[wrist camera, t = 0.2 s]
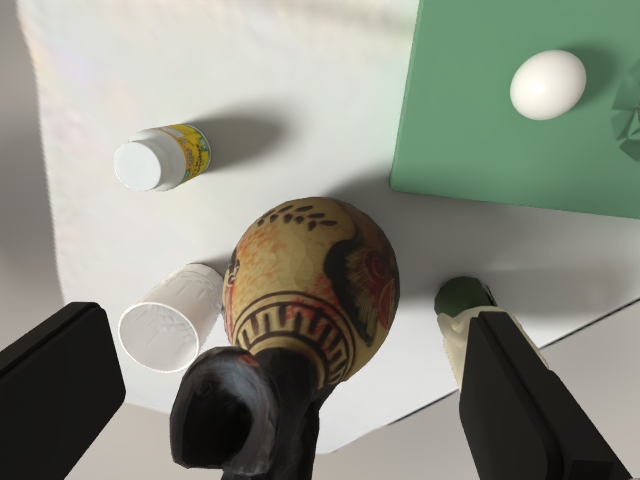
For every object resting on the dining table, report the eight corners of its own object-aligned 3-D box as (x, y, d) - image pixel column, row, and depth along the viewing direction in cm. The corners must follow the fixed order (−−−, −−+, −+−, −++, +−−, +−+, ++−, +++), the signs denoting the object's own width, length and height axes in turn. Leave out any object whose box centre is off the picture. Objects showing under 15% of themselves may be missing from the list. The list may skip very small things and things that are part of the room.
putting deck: (389, 183, 38) (391, 190, 35) (428, -55, 31) (435, -71, 28) (697, 219, 37) (725, 229, 34) (814, -24, 29) (862, -37, 27)
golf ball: (510, 50, 30) (537, 42, 26) (573, 56, 30) (613, 49, 26) (493, 115, 32) (517, 118, 28) (553, 121, 32) (587, 125, 27)
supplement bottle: (167, 115, 38) (109, 121, 29) (218, 134, 38) (175, 145, 29) (158, 166, 40) (100, 186, 31) (206, 184, 40) (163, 208, 31)
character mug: (522, 302, 41) (590, 386, 29) (477, 345, 44) (523, 440, 32) (443, 249, 40) (481, 314, 28) (402, 296, 42) (420, 376, 30)
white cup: (167, 252, 43) (115, 295, 34) (234, 264, 43) (200, 310, 34) (167, 311, 46) (119, 365, 37) (230, 322, 46) (198, 379, 36)
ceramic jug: (237, 192, 40) (-40, 412, 12) (383, 171, 38) (461, 377, 10) (270, 328, 46) (135, 692, 18) (399, 316, 43) (477, 710, 15)
